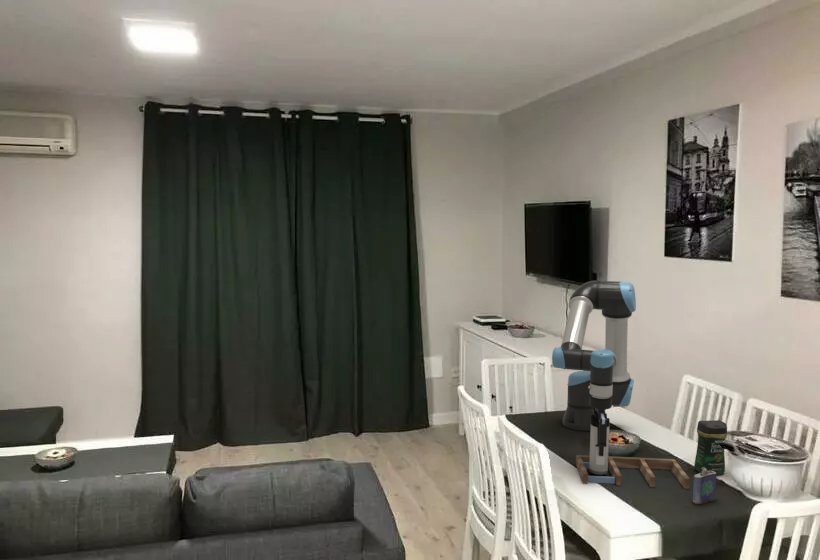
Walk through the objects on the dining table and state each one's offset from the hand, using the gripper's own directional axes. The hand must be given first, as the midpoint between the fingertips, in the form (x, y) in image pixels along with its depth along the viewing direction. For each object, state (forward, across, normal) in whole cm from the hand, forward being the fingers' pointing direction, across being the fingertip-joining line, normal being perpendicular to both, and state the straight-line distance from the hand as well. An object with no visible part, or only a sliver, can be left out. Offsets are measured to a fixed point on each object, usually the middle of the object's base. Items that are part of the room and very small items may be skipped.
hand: (598, 460), depth 232 cm
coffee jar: (+6, -8, +40) cm, 41 cm away
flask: (+6, +17, +30) cm, 35 cm away
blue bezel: (+5, 0, 0) cm, 5 cm away
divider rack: (+5, 0, +11) cm, 12 cm away
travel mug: (+4, 0, 0) cm, 4 cm away
